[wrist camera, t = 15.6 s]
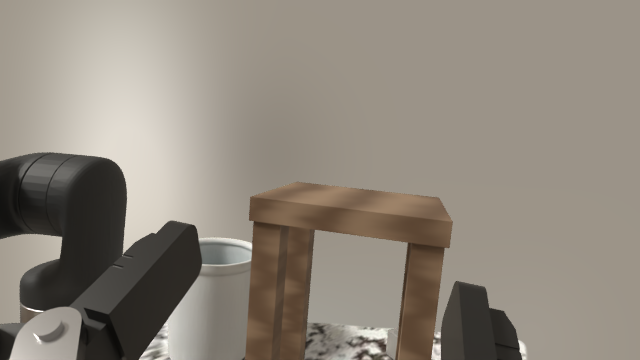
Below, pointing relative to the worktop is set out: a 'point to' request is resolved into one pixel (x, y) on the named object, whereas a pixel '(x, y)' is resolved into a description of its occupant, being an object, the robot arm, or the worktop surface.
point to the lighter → (392, 342)
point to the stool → (297, 249)
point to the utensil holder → (214, 305)
